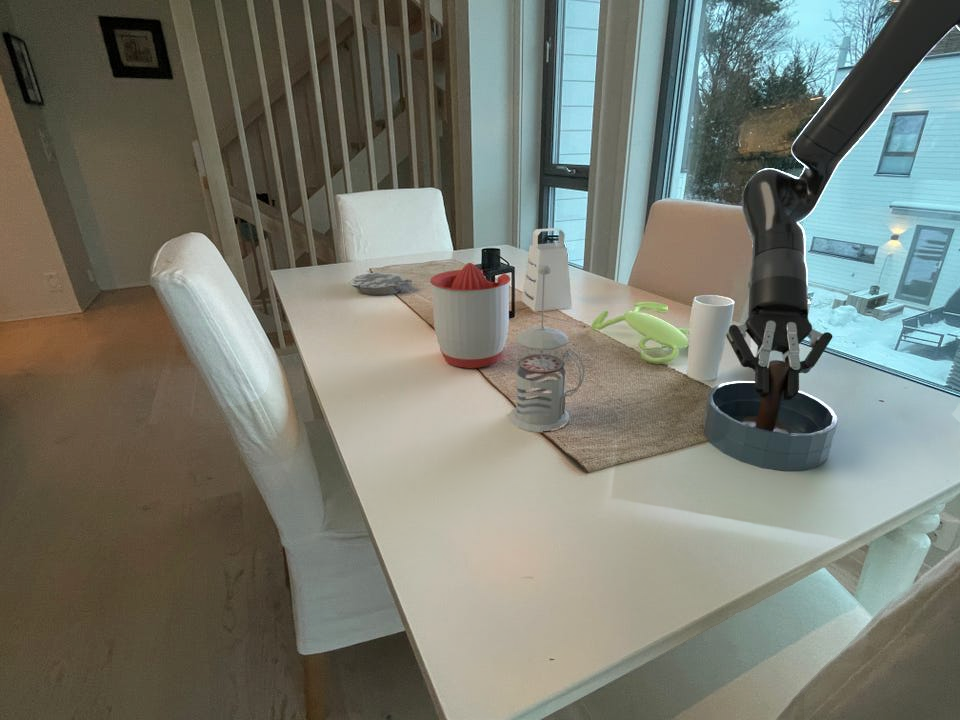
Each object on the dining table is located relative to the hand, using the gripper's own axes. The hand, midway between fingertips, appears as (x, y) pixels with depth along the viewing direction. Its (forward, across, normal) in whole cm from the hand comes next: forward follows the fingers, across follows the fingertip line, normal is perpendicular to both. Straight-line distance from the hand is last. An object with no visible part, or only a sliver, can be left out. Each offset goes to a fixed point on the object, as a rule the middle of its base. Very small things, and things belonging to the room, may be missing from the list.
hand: (776, 396), depth 70 cm
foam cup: (-18, +6, +30) cm, 36 cm away
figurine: (-23, -17, +35) cm, 45 cm away
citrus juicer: (-9, -51, +21) cm, 56 cm away
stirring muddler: (+4, 0, +7) cm, 8 cm away
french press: (+6, -32, +6) cm, 33 cm away
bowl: (+5, 0, +8) cm, 9 cm away
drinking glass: (-10, -7, +22) cm, 26 cm away
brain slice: (-39, -96, +51) cm, 115 cm away
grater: (-37, -44, +49) cm, 76 cm away
